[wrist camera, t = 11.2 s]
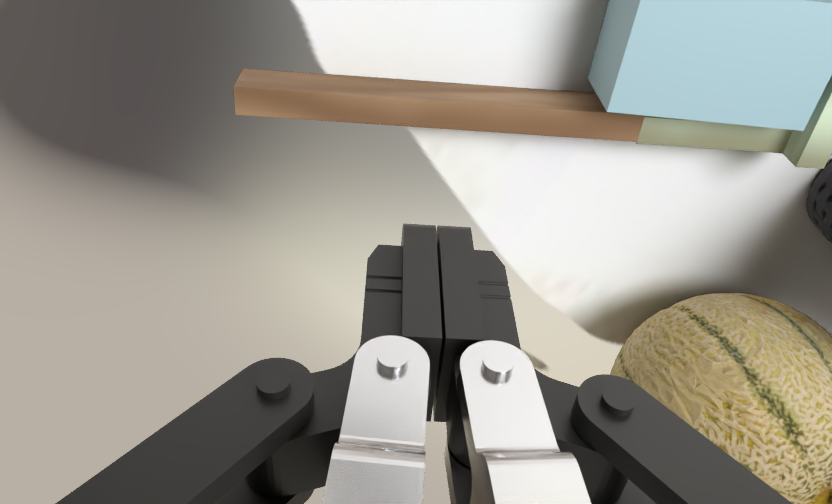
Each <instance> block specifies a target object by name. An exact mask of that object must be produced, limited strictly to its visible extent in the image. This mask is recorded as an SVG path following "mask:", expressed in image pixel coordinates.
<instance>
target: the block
mask: <svg viewBox="0 0 832 504" xmlns="http://www.w3.org/2000/svg"><path fill="white" fill-rule="evenodd" d="M831 75H832V0H609V2H608V6H607V9H606V13H605V16H604V20H603V24H602V27H601V31H600V35H599V38H598V42H597V46H596V49H595V53H594V57H593V60H592V64H591V68H590V71H589V75H588V80H589V82H590V83H591V85H592V87H593V89H594V90H595V92H596V94H597V96H598V97H599V99H600V101H601V103H602V104H603V106H604V108H605V109H606V111H607V112H613V113H623V114H634V115H644V116H654V117H665V118H675V119H685V120H696V121H706V122H716V123H727V124H737V125H748V126H758V127H768V128H779V129H789V130H799V131H804V129H805V127H806V125H807V123H808V121H809V119H810V117H811V115H812V113H813V111H814V109H815V107H816V105H817V103H818V101H819V99H820V97H821V95H822V93H823V91H824V89H825V87H826V85H827V83H828V81H829V79H830V77H831Z"/></svg>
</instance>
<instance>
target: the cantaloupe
mask: <svg viewBox="0 0 832 504" xmlns="http://www.w3.org/2000/svg"><path fill="white" fill-rule="evenodd" d="M611 375H615V376H619V377H622V378H625V379H627V380H629V381H631V382H633V383H635V384H636V385H638V386H639V387H641V388H642V389H643V390H645V391H646V392H647V393H649V394H650V395H651V396H653V397H654V398H655V399H657V400H658V401H659V402H660V403H662V404H663V405H664V406H666V407H667V408H668V409H670V410H671V411H672V412H674V413H675V414H676V415H677V416H679V417H680V418H681V419H683V420H684V421H685V422H687V423H688V424H689V425H691V426H692V427H693V428H694V429H696V430H697V431H698V432H700V433H701V434H702V435H704V436H705V437H706V438H708V439H709V440H710V441H711V442H713V443H714V444H715V445H717V446H718V447H719V448H721V449H722V450H723V451H725V452H726V453H727V454H728V455H730V456H731V457H732V458H734V459H735V460H736V461H738V462H739V463H740V464H742V465H743V466H744V467H745V468H747V469H748V470H749V471H751V472H752V473H753V474H755V475H756V476H757V477H759V478H760V479H761V480H762V481H764V482H765V483H766V484H768V485H769V486H770V487H772V488H773V489H774V490H776V491H777V492H778V493H779V494H781V495H782V496H783V497H785V498H786V499H787V500H789V501H790V502H791V503H793V504H832V336H831V334H829V333H828V332H827V331H826V330H825V329H824V328H823V327H821V326H820V325H819V324H818V323H817V322H815V321H814V320H812V319H811V318H810V317H808V316H807V315H805V314H803V313H801V312H799V311H797V310H795V309H794V308H792V307H790V306H788V305H785V304H783V303H781V302H778V301H775V300H772V299H769V298H765V297H760V296H756V295H750V294H743V293H713V294H705V295H700V296H695V297H692V298H689V299H686V300H683V301H681V302H678V303H676V304H674V305H672V306H670V307H669V308H667V309H663V310H660V311H659V312H658V313H656V314H654V315H653V316H651V317H650V318H648V319H647V320H645V321H644V322H643V323H642V324H641V325H640V326H639V327H638V328H636V329H635V330H634V331H633V333H632V334H631V336H630V337H629V338H628V339H627V340H626V342H625V344H624V346H623V347H622V348H621V350H620V352H619V354H618V356H617V358H616V360H615V363H614V366H613V368H612V370H611Z"/></svg>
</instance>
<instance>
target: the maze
mask: <svg viewBox="0 0 832 504" xmlns="http://www.w3.org/2000/svg"><path fill="white" fill-rule="evenodd" d="M233 92H234V103H235V112H236V115H246V116H247V115H248V116H261V117H276V118H291V119H306V120H321V121H336V122H351V123H366V124H381V125H396V126H410V127H425V128H440V129H455V130H470V131H485V132H500V133H515V134H530V135H545V136H560V137H575V138H590V139H604V140H619V141H634V142H636V143H638V144H653V145H668V146H683V147H698V148H713V149H728V150H743V151H758V152H773V153H783V154H784V155H785V156H786V157H787V158H788V159H789V160H790V161H791V162H792V163H793V164H794V165H795V167H805V168H820V169H824V167H825V165H826V163H827V161H828V160H829V158H830V156H831V154H832V75H831V77H830V79H829V81H828V83H827V85H826V87H825V89H824V91H823V93H822V95H821V97H820V99H819V101H818V103H817V105H816V107H815V109H814V111H813V113H812V115H811V117H810V119H809V121H808V123H807V125H806V127H805V129H804V131H799V130H789V129H779V128H768V127H758V126H748V125H737V124H727V123H716V122H706V121H696V120H685V119H675V118H665V117H654V116H644V115H634V114H623V113H613V112H607V111H606V109H605V108H604V106H603V104H602V103H601V101H600V99H599V97H598V96H597V94H596V93H584V92H570V91H556V90H542V89H528V88H514V87H500V86H486V85H472V84H457V83H443V82H429V81H415V80H401V79H387V78H373V77H359V76H344V75H330V74H316V73H301V72H288V71H274V70H259V69H245V68H243V70H242V72H241V73H240V75H239V77H238V79H237V81H236V82H235V84H234V86H233Z"/></svg>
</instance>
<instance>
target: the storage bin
mask: <svg viewBox="0 0 832 504" xmlns="http://www.w3.org/2000/svg"><path fill="white" fill-rule="evenodd" d="M807 209H808V214H809V217H810V219H811V220H812V222H813V223H814V224H815V226H816V227H817V228H818V229H819V230H820V231H821V232H822V234H823V235H824V236H825V237H826V238H827V239H828V240H829V241H831V242H832V162H830V163H829V164H828V165H827V166H826V167H825V168H824V169H823V171H822V172H821V173H820V174H819V175H818V177H817V178H816V180H815V181H814V183H813V185H812V187H811V189H810V192H809V196H808V200H807Z"/></svg>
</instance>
